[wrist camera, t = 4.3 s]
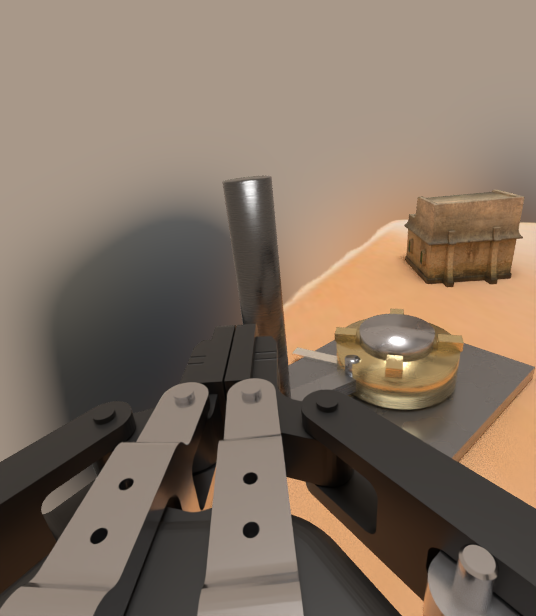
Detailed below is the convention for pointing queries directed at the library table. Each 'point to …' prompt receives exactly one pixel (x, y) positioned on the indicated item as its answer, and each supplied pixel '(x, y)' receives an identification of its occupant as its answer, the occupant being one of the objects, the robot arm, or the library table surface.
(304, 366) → the housing plate
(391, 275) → the library table surface
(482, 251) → the miniature house
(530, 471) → the library table surface
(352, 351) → the rod with disc
